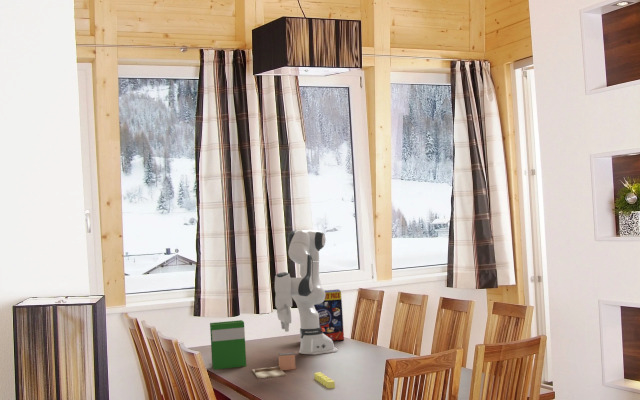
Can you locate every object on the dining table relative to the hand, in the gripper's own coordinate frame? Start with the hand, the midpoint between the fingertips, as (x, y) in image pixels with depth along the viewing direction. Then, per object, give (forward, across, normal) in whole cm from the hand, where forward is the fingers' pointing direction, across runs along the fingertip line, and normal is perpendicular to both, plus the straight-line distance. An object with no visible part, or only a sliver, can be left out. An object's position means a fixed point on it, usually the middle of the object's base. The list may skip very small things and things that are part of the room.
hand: (285, 330), depth 397 cm
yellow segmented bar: (+21, -40, -12) cm, 47 cm away
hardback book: (+21, +22, +28) cm, 41 cm away
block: (+20, 0, 0) cm, 20 cm away
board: (+20, -6, +11) cm, 24 cm away
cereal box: (+20, +74, -37) cm, 85 cm away
